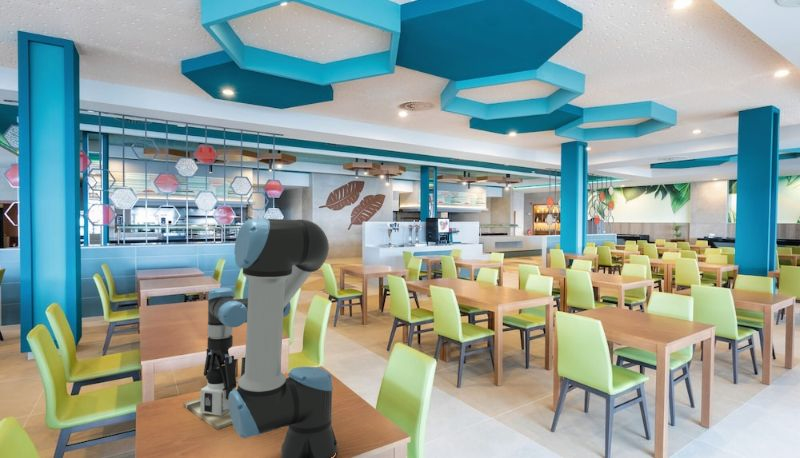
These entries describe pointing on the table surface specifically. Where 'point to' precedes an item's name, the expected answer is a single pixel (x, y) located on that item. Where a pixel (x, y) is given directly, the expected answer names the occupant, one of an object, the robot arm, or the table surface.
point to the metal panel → (211, 419)
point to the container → (213, 394)
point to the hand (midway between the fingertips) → (219, 403)
